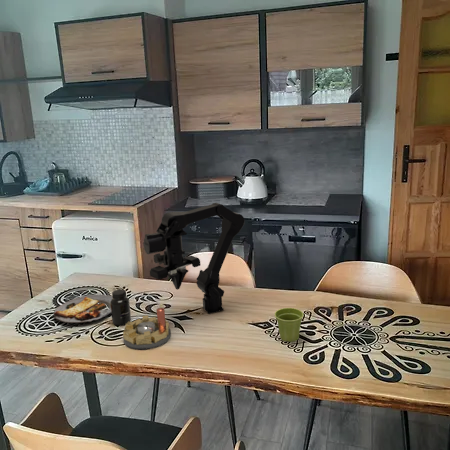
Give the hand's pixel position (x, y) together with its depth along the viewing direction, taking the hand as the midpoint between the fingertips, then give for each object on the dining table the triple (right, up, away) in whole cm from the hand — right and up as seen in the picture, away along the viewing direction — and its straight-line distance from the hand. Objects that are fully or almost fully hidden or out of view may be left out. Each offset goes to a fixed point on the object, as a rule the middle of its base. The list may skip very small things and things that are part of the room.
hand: (177, 289), depth 165 cm
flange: (-9, -15, -9) cm, 20 cm away
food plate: (-37, -11, +13) cm, 41 cm away
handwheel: (-9, -14, -9) cm, 19 cm away
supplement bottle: (-21, -13, +3) cm, 25 cm away
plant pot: (+39, -14, -14) cm, 43 cm away
